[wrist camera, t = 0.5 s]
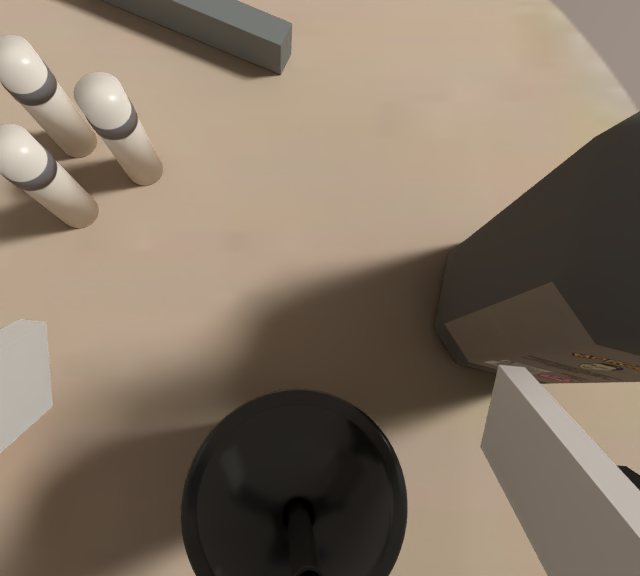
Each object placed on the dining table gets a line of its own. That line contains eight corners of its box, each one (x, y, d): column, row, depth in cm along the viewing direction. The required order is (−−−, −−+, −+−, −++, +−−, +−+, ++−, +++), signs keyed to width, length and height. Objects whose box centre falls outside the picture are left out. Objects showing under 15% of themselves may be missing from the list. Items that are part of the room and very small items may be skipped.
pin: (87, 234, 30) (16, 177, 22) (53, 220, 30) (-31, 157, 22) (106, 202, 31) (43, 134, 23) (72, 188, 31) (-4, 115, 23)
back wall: (280, 74, 34) (280, 45, 31) (83, -7, 34) (65, -44, 31) (291, 54, 35) (292, 23, 32) (96, -27, 35) (80, -65, 32)
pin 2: (153, 191, 31) (108, 121, 23) (120, 177, 31) (63, 102, 23) (170, 161, 32) (131, 82, 24) (136, 147, 32) (87, 63, 24)
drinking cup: (209, 416, 29) (62, 476, 9) (322, 370, 30) (403, 337, 10) (251, 539, 27) (185, 910, 8) (367, 486, 29) (557, 694, 9)
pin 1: (86, 163, 31) (18, 83, 23) (53, 149, 31) (-28, 64, 23) (104, 134, 32) (43, 45, 24) (71, 120, 32) (-1, 27, 24)
